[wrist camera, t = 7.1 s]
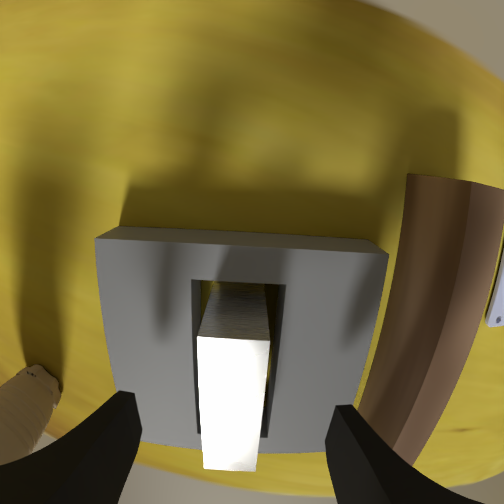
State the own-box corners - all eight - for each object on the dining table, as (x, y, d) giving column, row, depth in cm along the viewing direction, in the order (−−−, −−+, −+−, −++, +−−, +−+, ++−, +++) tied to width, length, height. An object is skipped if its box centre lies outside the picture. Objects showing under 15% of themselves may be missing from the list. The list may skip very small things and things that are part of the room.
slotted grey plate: (367, 239, 14) (389, 254, 12) (328, 421, 17) (336, 450, 15) (118, 226, 14) (94, 238, 11) (140, 411, 17) (129, 438, 14)
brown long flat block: (440, 179, 13) (507, 190, 8) (368, 448, 18) (387, 501, 13) (407, 173, 13) (471, 181, 8) (342, 451, 18) (357, 506, 13)
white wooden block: (263, 278, 15) (270, 341, 9) (254, 394, 17) (255, 471, 11) (215, 276, 15) (197, 336, 9) (214, 392, 16) (204, 468, 11)
